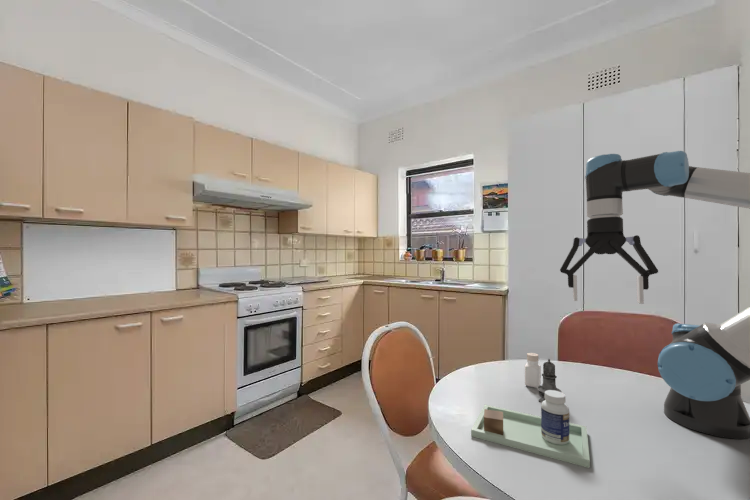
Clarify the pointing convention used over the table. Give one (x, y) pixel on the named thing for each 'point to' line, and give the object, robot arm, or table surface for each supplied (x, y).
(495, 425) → the walnut block
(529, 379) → the salt shaker
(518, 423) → the tray
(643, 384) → the table surface
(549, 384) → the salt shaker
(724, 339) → the robot arm
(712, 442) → the table surface
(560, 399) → the pill bottle
